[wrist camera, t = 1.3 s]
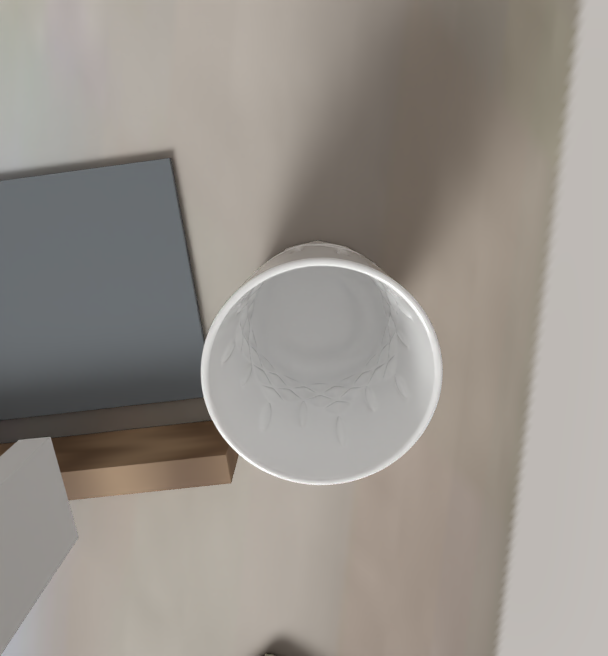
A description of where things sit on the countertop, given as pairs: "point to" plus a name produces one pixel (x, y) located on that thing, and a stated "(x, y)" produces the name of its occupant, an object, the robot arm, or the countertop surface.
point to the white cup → (321, 367)
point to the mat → (96, 292)
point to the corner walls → (143, 460)
